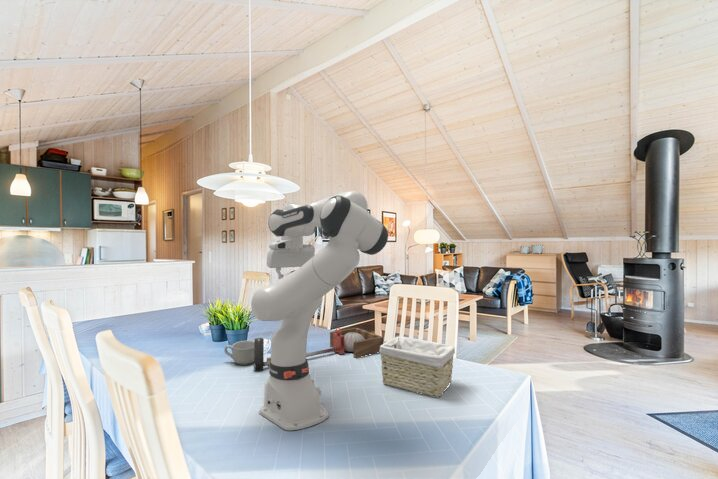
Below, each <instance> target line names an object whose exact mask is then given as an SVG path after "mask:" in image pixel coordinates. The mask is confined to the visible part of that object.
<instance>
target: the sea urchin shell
mask: <svg viewBox="0 0 718 479" xmlns="http://www.w3.org/2000/svg"><path fill="white" fill-rule="evenodd" d="M361 340H365V338H364V337H363V336H362V335H361V334H358V333H355V332H351V333H347V334H345V335H344V352H347V353H348V352H349V353H350V352H352V353H354V342H356V341H361Z"/></svg>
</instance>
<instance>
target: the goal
mask: <svg viewBox="0 0 718 479" xmlns="http://www.w3.org/2000/svg"><path fill="white" fill-rule="evenodd" d="M341 330H342V332H341V335H343V336H344V335H345V334H347V333H351V332H355V333H358V334H361V335H362V336H363V337H364V338H365V340H361V341H356V342H354V352H353V358H354V359H355V358H356V359H358V358H357V357H360V358H362V357H361V356H364V357H366V356H365V355H368V356H370V355H369V354H372V355H374V354H373V353H377V352H380V346H381V345H383V344H384V337H383V336H381V335H379V334H376V333H373V332H370V331H367V330H364V329H361V328H358V327H352V328H346V329H341ZM333 333H335V330H333V331H330V332H329V347H330V348H333ZM377 354H378V353H377Z"/></svg>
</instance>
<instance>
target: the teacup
mask: <svg viewBox="0 0 718 479" xmlns="http://www.w3.org/2000/svg"><path fill="white" fill-rule="evenodd" d="M228 348H230V350H231V353H230V352H229V351H228ZM223 350H224V351H223V352H224V354H226V355H227V356H228V357H230V358H231V359H232V360H233V362H234V363H235V364H237V365H239V366H240V365H241V366H247V365H250V364H252V363H254V340H240V341H236V342H235V343H233V344H227V345H226V346H225V347H224V349H223Z"/></svg>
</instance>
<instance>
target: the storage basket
mask: <svg viewBox="0 0 718 479" xmlns="http://www.w3.org/2000/svg"><path fill="white" fill-rule="evenodd" d="M455 350H456V347H455V346H453V345H450V344H446V343H440V342H434V341H430V340H424V339H419V338H418V339H417V338H414V337H407V336H396V337H393V338H391V339H389V340H387V341H385V342H383V345H381V346H380V353H379V354H380V361H381V376H382V383H383V384H384V385H386V384H387V386H391V387H394V388H398V387H399V389H401V388H403V390H406V389H407V391H409V390H410V391H409V392H412V391H414V392H413V393H415V392H418V393H417V394H419V393H422V394H421V395H425V394H426V396H428V395H430V396H429V397H432V396H435V397H434V398H436V397H439V396H440V395H441V394H442V393H443V392H444V390H445V389H446V388H447V386H448V385H449V383H451V384H452V374H453V368H454V364H453V363H454V361H453V360H454V355H455V353H456V351H455ZM444 393H445V392H444ZM444 393H443V394H444ZM443 394H442V395H443ZM442 395H441V396H442ZM439 398H440V397H439Z"/></svg>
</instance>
